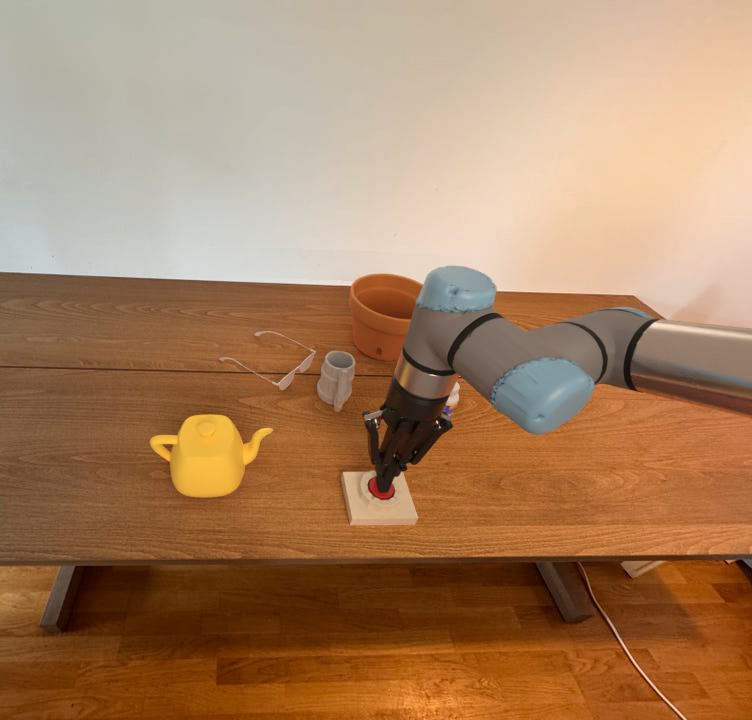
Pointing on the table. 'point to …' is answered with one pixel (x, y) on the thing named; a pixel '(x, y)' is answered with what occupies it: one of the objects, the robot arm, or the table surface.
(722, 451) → the table surface
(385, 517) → the button box
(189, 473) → the teapot
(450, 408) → the pill bottle
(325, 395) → the mug
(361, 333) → the flower pot
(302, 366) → the eyeglasses
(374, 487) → the button
